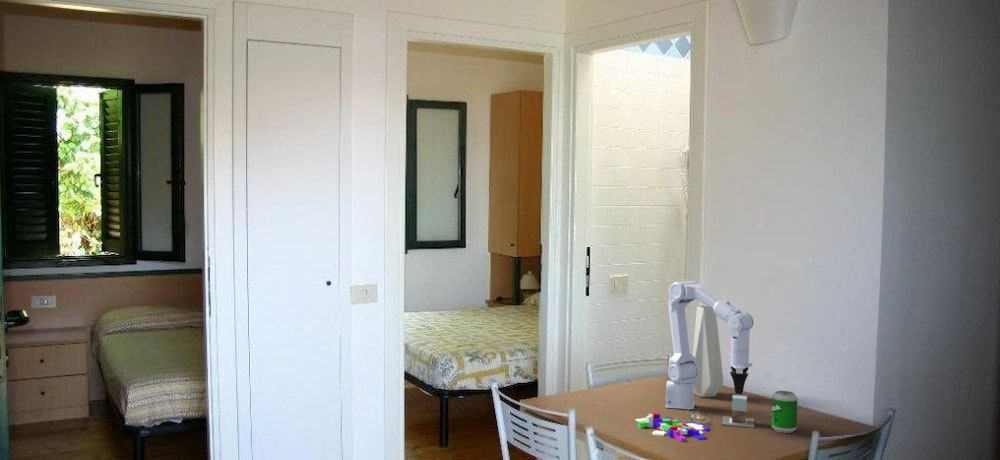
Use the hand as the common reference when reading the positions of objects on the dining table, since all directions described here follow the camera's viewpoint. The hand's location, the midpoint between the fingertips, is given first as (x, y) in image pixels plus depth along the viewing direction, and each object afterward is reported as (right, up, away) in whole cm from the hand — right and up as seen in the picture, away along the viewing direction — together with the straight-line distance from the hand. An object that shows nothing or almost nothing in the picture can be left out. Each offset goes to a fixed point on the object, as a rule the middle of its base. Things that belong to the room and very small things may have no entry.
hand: (739, 391), depth 278 cm
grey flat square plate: (0, -10, +1) cm, 10 cm away
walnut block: (0, -10, 0) cm, 10 cm away
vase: (-2, -9, +37) cm, 38 cm away
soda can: (+12, -11, -8) cm, 18 cm away
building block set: (-22, -11, -7) cm, 26 cm away
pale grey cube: (0, -6, 0) cm, 6 cm away
